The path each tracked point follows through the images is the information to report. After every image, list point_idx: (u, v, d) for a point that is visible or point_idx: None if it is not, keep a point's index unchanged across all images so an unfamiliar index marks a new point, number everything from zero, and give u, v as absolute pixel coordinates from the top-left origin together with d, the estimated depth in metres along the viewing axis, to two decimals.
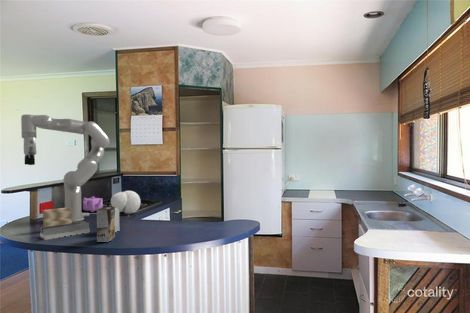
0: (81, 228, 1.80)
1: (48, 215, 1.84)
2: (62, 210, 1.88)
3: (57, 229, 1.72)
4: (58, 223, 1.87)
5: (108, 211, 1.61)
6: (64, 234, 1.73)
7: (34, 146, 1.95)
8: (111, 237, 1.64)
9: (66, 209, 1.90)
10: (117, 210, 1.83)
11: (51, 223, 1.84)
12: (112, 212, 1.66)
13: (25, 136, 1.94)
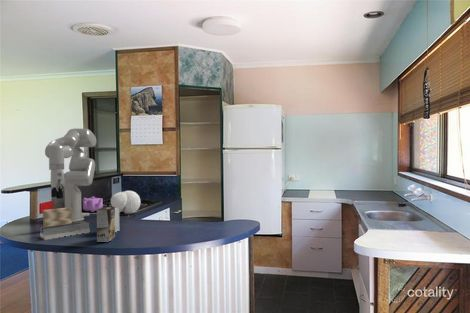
0: (81, 228, 1.80)
1: (48, 215, 1.84)
2: (62, 210, 1.88)
3: (57, 229, 1.72)
4: (58, 223, 1.87)
5: (108, 211, 1.61)
6: (64, 234, 1.73)
7: (62, 178, 1.85)
8: (111, 237, 1.64)
9: (66, 209, 1.90)
10: (117, 210, 1.83)
11: (51, 223, 1.84)
12: (112, 212, 1.66)
13: (53, 168, 1.84)
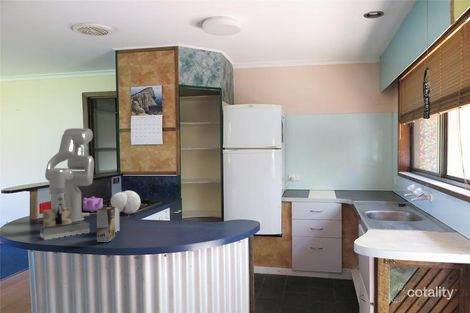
0: (81, 228, 1.80)
1: (48, 215, 1.84)
2: (62, 210, 1.88)
3: (57, 229, 1.72)
4: None
5: (108, 211, 1.61)
6: (64, 234, 1.73)
7: (63, 203, 1.85)
8: (111, 237, 1.64)
9: (66, 209, 1.90)
10: (117, 210, 1.83)
11: (51, 223, 1.84)
12: (112, 212, 1.66)
13: (54, 193, 1.84)
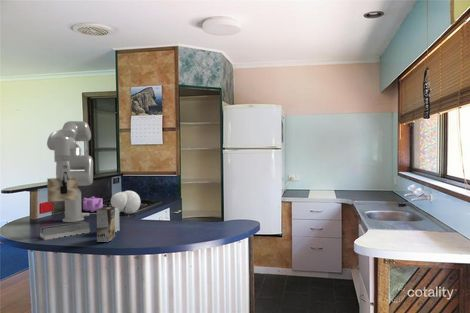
0: (81, 228, 1.80)
1: (53, 183, 1.75)
2: (67, 179, 1.80)
3: (57, 229, 1.72)
4: None
5: (108, 211, 1.61)
6: (64, 234, 1.73)
7: (68, 171, 1.77)
8: (111, 237, 1.64)
9: (71, 178, 1.81)
10: (117, 210, 1.83)
11: (56, 192, 1.76)
12: (112, 212, 1.66)
13: (59, 160, 1.76)
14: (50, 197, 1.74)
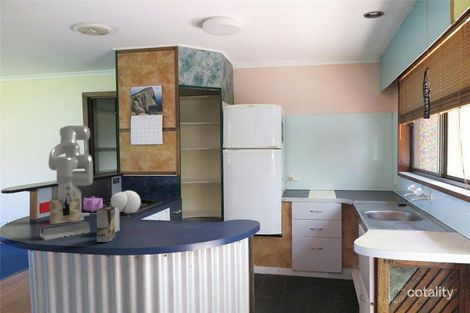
0: (81, 228, 1.80)
1: (56, 205, 1.73)
2: (70, 200, 1.78)
3: (57, 229, 1.72)
4: None
5: (108, 211, 1.61)
6: (64, 234, 1.73)
7: (71, 192, 1.75)
8: (111, 237, 1.64)
9: (74, 199, 1.79)
10: (117, 210, 1.83)
11: (58, 214, 1.74)
12: (112, 212, 1.66)
13: (61, 182, 1.74)
14: (52, 219, 1.72)
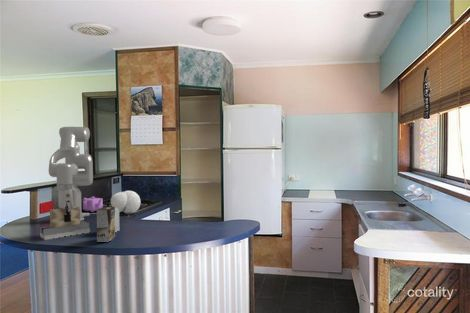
0: (81, 228, 1.80)
1: (56, 215, 1.73)
2: None
3: (57, 229, 1.72)
4: (66, 223, 1.77)
5: (108, 211, 1.61)
6: (64, 234, 1.73)
7: (71, 200, 1.75)
8: (111, 237, 1.64)
9: (74, 208, 1.80)
10: (117, 210, 1.83)
11: (58, 224, 1.74)
12: (112, 212, 1.66)
13: (61, 189, 1.74)
14: None
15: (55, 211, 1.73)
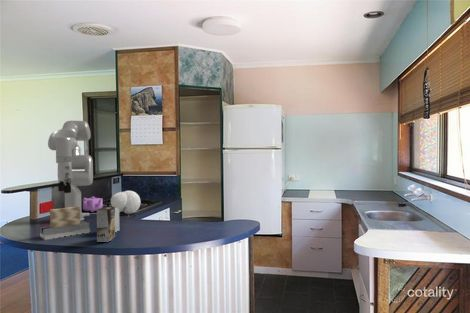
0: (81, 228, 1.80)
1: (56, 215, 1.73)
2: (70, 209, 1.78)
3: (57, 229, 1.72)
4: (66, 223, 1.77)
5: (108, 211, 1.61)
6: (64, 234, 1.73)
7: (70, 172, 1.76)
8: (111, 237, 1.64)
9: (74, 208, 1.80)
10: (117, 210, 1.83)
11: (58, 223, 1.74)
12: (112, 212, 1.66)
13: (60, 161, 1.75)
14: None
15: (55, 211, 1.73)
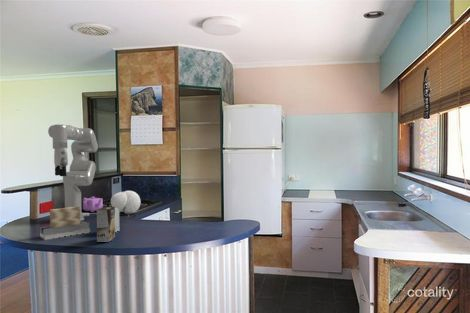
0: (81, 228, 1.80)
1: (56, 215, 1.73)
2: (70, 209, 1.78)
3: (57, 229, 1.72)
4: (66, 223, 1.77)
5: (108, 211, 1.61)
6: (64, 234, 1.73)
7: (66, 157, 1.90)
8: (111, 237, 1.64)
9: (74, 208, 1.80)
10: (117, 210, 1.83)
11: (58, 223, 1.74)
12: (112, 212, 1.66)
13: (57, 147, 1.89)
14: None
15: (55, 211, 1.73)
